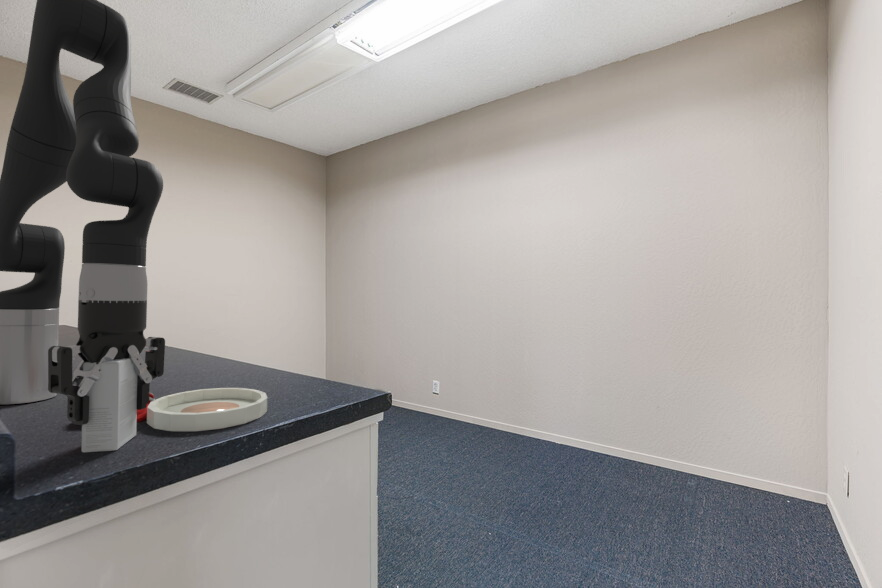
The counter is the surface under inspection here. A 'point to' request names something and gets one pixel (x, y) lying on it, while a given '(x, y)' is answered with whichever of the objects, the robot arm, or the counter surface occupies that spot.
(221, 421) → the round dish
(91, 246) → the robot arm
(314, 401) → the counter surface
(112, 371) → the skincare box
